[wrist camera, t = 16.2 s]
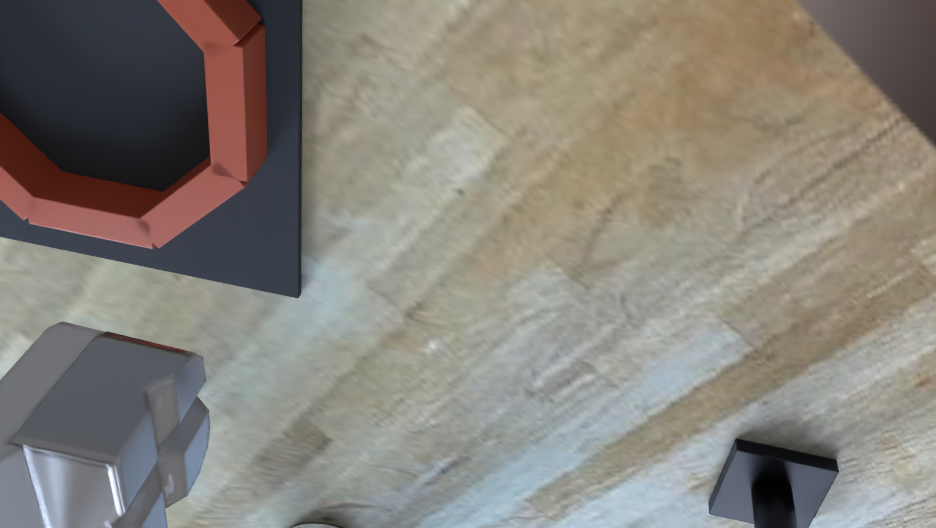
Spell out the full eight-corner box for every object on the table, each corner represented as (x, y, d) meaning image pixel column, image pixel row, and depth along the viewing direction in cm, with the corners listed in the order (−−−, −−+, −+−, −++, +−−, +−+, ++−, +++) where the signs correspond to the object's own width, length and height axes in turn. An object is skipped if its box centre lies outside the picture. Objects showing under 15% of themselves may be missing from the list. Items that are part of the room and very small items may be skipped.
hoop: (-161, -329, 31) (-244, -326, 28) (260, -262, 30) (217, -252, 27) (-33, 179, 43) (-81, 217, 40) (269, 240, 42) (241, 284, 39)
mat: (-174, -276, 32) (-183, -276, 32) (303, -199, 31) (299, -197, 31) (-39, 224, 45) (-44, 228, 45) (301, 293, 44) (298, 298, 43)
